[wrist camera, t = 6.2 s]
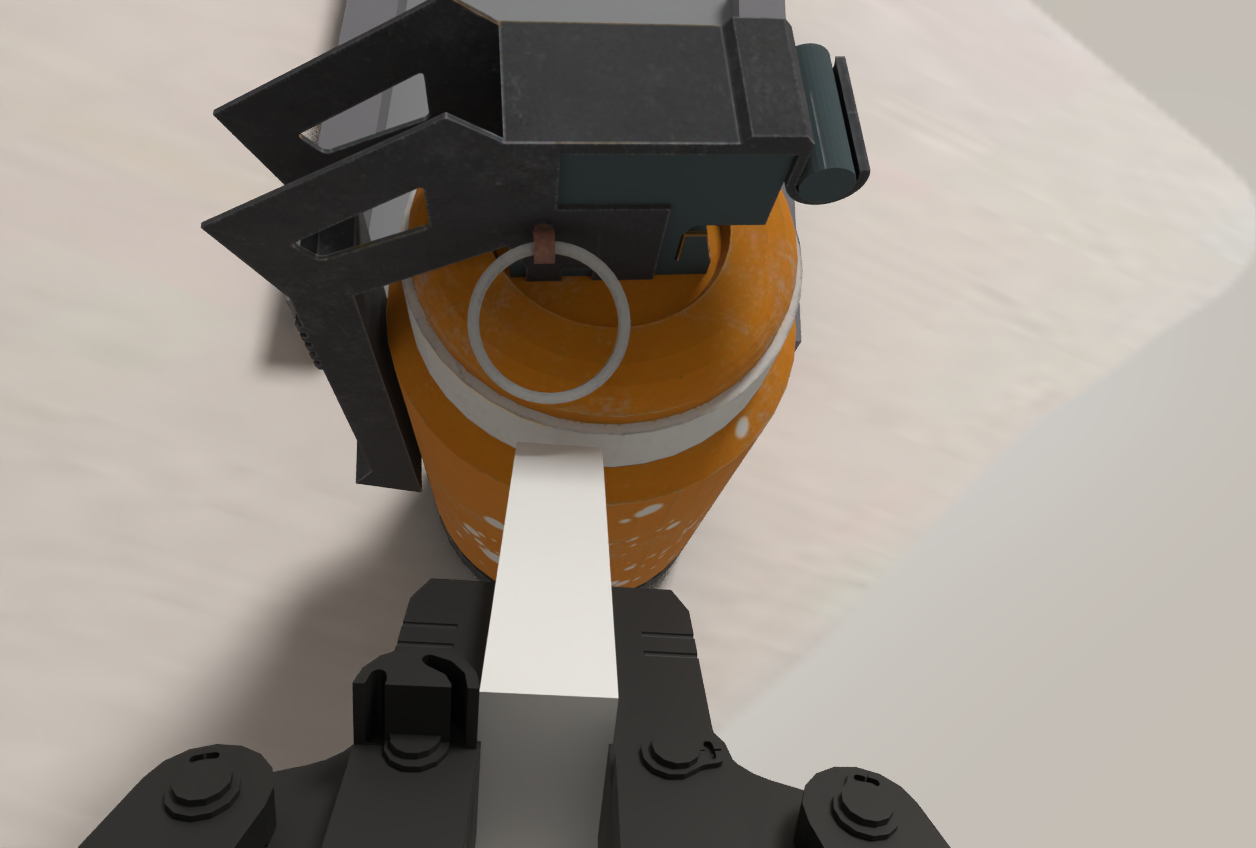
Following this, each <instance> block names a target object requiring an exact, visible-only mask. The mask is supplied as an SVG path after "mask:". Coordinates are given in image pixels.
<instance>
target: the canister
mask: <svg viewBox="0 0 1256 848" xmlns="http://www.w3.org/2000/svg"><path fill="white" fill-rule="evenodd" d="M419 73H422V74H423V75H424V81H425V88H426V96H427V103H428V110H429V113H428V114H427V115H426V116H424V117H421V118H418V119H415V120H412V121H409V122H407V123H404V124H401V125H398V126H395V127H392V128H389V129H386V130H383V131H380V132H377V133H375V134H372V135H369V136H366V137H363V138H360V139H357V140H354V141H352V142H349V143H346V144H343V145H340V146H337V147H334V148H332V149H324V148H321V147H320V146H318V145H317V144H315V143H314V142H312V141H311V140H309V139H308V138H306V137H305V136H303V135H302V134H301V133H302V132H304V131H306V130H308V129H310V128H312V127H314V126H316V125H318V124H320V123H322V122H324V121H326V120H328V119H330V118H332V117H334V116H336V115H338V114H340V113H342V112H344V111H346V110H348V109H350V108H352V107H354V106H356V105H358V104H360V103H362V102H364V101H366V100H368V99H370V98H372V97H373V96H375V95H377V94H379V93H381V92H383V91H385V90H387V89H389V88H391V87H393V86H395V85H397V84H399V83H401V82H403V81H405V80H407V79H409V78H411V77H413V76H415V75H417V74H419ZM213 115H214V116H215V117H216V118H217V119H218V120H219V121H220V122H221V123H222V124H223V125H224V126H225V127H226V128H227V129H228V130H229V131H230V132H231V133H232V134H233V135H234V136H235V137H236V138H237V139H238V140H239V141H240V142H241V143H242V144H243V145H244V146H245V147H246V148H247V149H249V150H250V151H251V152H252V153H253V154H254V155H255V156H256V157H257V158H258V159H259V160H260V161H261V162H262V163H263V164H264V165H265V166H266V167H267V168H268V169H269V170H270V171H271V172H272V173H273V174H274V175H275V176H276V177H277V178H278V179H279V180H280V181H281V182H282V183H283V184H284V186H282V187H280V188H277V189H275V190H273V191H271V192H268V193H266V194H264V195H262V196H260V197H257V198H255V199H253V200H251V201H248V202H246V203H244V204H242V205H240V206H237V207H235V208H233V209H231V210H228V211H226V212H224V213H222V214H220V215H217V216H215V217H213V218H211V219H208V220H206V221H204V222H202V223H201V228H202V229H203V230H204V231H206V232H207V233H208V234H209V235H211V236H212V237H213V238H214V239H216V240H217V241H218V242H219V243H221V244H222V245H223V246H225V247H226V248H227V249H228V250H230V251H231V252H232V253H233V254H235V255H236V256H237V257H238V258H240V259H241V260H242V261H243V262H245V263H246V264H247V265H249V266H250V267H251V268H252V269H254V270H255V271H256V272H257V273H259V274H260V275H261V276H262V277H264V278H265V279H266V280H267V281H269V282H270V283H271V284H272V285H274V286H275V287H276V288H278V289H279V290H280V291H281V292H283V293H284V294H285V295H286V296H288V297H289V299H290V302H291V304H292V306H293V308H294V310H295V312H296V323H295V325H296V327H297V329H298V331H300V335H301V337H302V340H303V341H305V346H306V348H307V349H308V350H309V351H310V356H311V358H312V359H313V360H314V364H315V366H316V367H317V368H318V369H323V370H324V372H325V375H326V377H327V379H328V381H329V383H330V385H331V387H332V389H333V391H334V393H335V395H336V398H337V400H338V402H339V404H340V406H341V408H342V410H343V412H344V414H345V416H346V418H347V420H348V423H349V425H350V427H351V429H352V431H353V433H354V435H355V437H356V439H357V465H356V483H357V484H364V485H371V486H379V487H386V488H393V489H400V490H408V491H415V492H422V459H423V463H424V466H425V469H426V472H427V476H428V479H429V482H430V485H431V489H432V492H433V495H434V499H435V502H436V505H437V508H438V512H439V514H440V518H441V521H442V525H443V527H444V530H445V532H446V534H447V536H448V538H449V541H450V543H451V545H452V547H453V548H454V550H455V551H456V553H457V554H458V556H459V557H460V559H461V560H462V561H463V563H464V564H465V565H466V566H467V567H468V568H469V569H470V570H471V571H472V572H473V573H474V575H475V576H476V577H477V578H478V579H480V580H481V581H482V582H496V578H497V571H498V565H499V558H500V551H501V545H502V538H503V531H504V525H505V518H506V511H507V505H508V498H509V491H510V485H511V478H512V471H513V465H514V458H515V451H516V444H517V442H527V443H541V444H555V445H569V446H582V447H596V448H602V452H603V467H604V482H605V498H606V513H607V528H608V544H609V559H610V575H611V587H628V588H645V589H646V588H647V587H648V586H650V585H651V584H653V583H654V582H655V581H657V580H658V579H659V578H660V577H661V576H662V575H663V574H664V573H665V572H666V571H667V570H668V569H669V568H670V566H671V565H672V564H673V562H674V561H675V559H676V558H677V557H678V555H679V554H680V552H681V551H682V550H683V548H684V547H685V545H686V544H687V542H688V540H689V539H690V538H691V536H692V535H693V533H694V532H695V530H696V529H697V527H698V526H699V524H700V523H701V521H702V520H703V518H704V517H705V515H706V514H707V512H708V511H709V509H710V508H711V507H712V505H713V504H714V502H715V501H716V499H717V498H718V496H719V495H720V493H721V492H722V490H723V489H724V487H725V486H726V484H727V483H728V481H729V480H730V478H731V477H732V475H733V474H734V472H735V471H736V469H737V468H738V466H739V465H740V463H741V462H742V460H743V459H744V457H745V456H746V454H747V453H748V451H749V450H750V449H751V447H752V446H753V444H754V443H755V441H756V440H757V438H758V437H759V435H760V434H761V432H762V431H763V429H764V428H765V426H766V425H767V423H768V422H769V420H770V419H771V417H772V416H773V414H774V412H775V410H776V408H777V406H778V404H779V402H780V400H781V398H782V396H783V394H784V391H785V389H786V387H787V383H788V380H789V376H790V372H791V369H792V365H793V361H794V352H795V340H796V324H795V315H796V312H797V308H798V304H799V301H800V295H801V284H802V272H803V270H802V260H801V249H800V242H799V239H798V235H797V231H796V228H795V224H794V220H793V218H792V215H791V213H790V209H789V206H788V203H787V201H786V198H785V196H784V194H783V192H782V190H781V187H782V185H783V183H784V184H785V189H786V192H787V194H788V195H789V197H791V198H792V199H793V200H795V201H797V202H800V203H803V204H810V205H820V204H827V203H831V202H835V201H838V200H841V199H844V198H846V197H848V196H850V195H852V194H853V193H855V192H856V191H858V190H859V189H860V188H861V187H862V186H863V185H864V184H865V182H866V181H867V179H868V177H869V175H870V166H869V162H868V157H867V153H866V148H865V144H864V140H863V135H862V131H861V126H860V122H859V117H858V113H857V108H856V104H855V99H854V95H853V90H852V86H851V81H850V77H849V73H848V68H847V64H846V59H845V56H838V57H835V64H834V67H833V68H832V64H831V59H830V55H829V52H828V50H827V49H826V48H825V47H823V46H821V45H818V44H812V43H809V44H802V45H798V46H795V42H794V37H793V31H792V27H791V25H790V24H789V23H788V21H787V20H786V19H785V18H773V17H731V18H730V19H729V20H728V21H726V22H725V23H724V24H722V25H690V24H643V23H596V22H548V21H501V20H497V19H495V18H493V17H491V16H489V15H488V14H486V13H484V12H482V11H480V10H479V9H477V8H475V7H473V6H471V5H469V4H468V3H466V2H464V1H462V0H426V1H424V2H422V3H421V4H419V5H417V6H415V7H413V8H411V9H409V10H407V11H405V12H404V13H402V14H400V15H398V16H396V17H394V18H392V19H390V20H388V21H386V22H384V23H382V24H380V25H378V26H376V27H374V28H372V29H370V30H369V31H367V32H365V33H363V34H361V35H359V36H357V37H355V38H353V39H351V40H349V41H347V42H345V43H343V44H341V45H339V46H337V47H335V48H333V49H332V50H330V51H328V52H326V53H324V54H322V55H320V56H318V57H316V58H314V59H312V60H310V61H308V62H306V63H304V64H302V65H300V66H298V67H296V68H295V69H293V70H291V71H289V72H287V73H285V74H283V75H281V76H279V77H277V78H275V79H273V80H271V81H269V82H267V83H265V84H263V85H261V86H260V87H258V88H256V89H254V90H252V91H250V92H248V93H246V94H244V95H242V96H240V97H238V98H236V99H234V100H232V101H230V102H228V103H226V104H224V105H223V106H221V107H219V108H217V109H215V110H214V111H213ZM411 191H412V192H411ZM408 192H411V194H410V196H409V199H408V202H407V206H406V209H405V212H404V216H403V219H402V223H401V232H399V233H396V234H393V235H389V236H386V237H383V238H380V239H376V240H373V241H371V238H370V235H369V231H368V227H367V224H366V220H365V217H364V213H363V212H365V211H368V210H370V209H372V208H374V207H377V206H379V205H381V204H383V203H386V202H388V201H390V200H393V199H395V198H397V197H399V196H402V195H404V194H406V193H408ZM299 240H300V245H298V244H296V243H295V242H297V241H299ZM386 285H389V288H388V298H387V296H386V292H385V289H384V286H386Z"/></svg>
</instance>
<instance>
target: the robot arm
mask: <svg viewBox="0 0 1256 848" xmlns="http://www.w3.org/2000/svg"><path fill="white" fill-rule="evenodd" d="M693 635H694V634H693V629H692V624H691V619H690V614H689V611H688V609H687V608H686V607H685V606H684V605H683V604H682V602H681V601H680V600H679V599H678V598H677V596H676V595H675V594H674V593H673V592H672V591H671V590H662V589H645V588H628V587H611V575H610V559H609V544H608V528H607V513H606V498H605V482H604V467H603V452H602V448H596V447H582V446H569V445H555V444H541V443H527V442H517V444H516V451H515V458H514V465H513V471H512V478H511V485H510V491H509V498H508V505H507V511H506V518H505V525H504V531H503V538H502V545H501V551H500V558H499V565H498V571H497V578H496V582H482V581H465V580H448V579H430V580H429V581H428V582H427V583H426V584H425V585H424V586H423V587H422V588H420V589H419V590H418V591H417V592H416V593H415V594H414V595H413V596H412V597H411V598H410V601H409V604H408V608H407V611H406V614H405V618H404V621H403V626H402V628H401V631H400V634H399V638H398V643H397V646H396V648H395V651H394V652H391V653H388V654H384V655H381V656H379V657H378V658H376V659H375V660H373V661H372V662H370V663H369V664H367V665H366V666H364V667H363V668H362V670H361V671H360V673H359V674H358V676H357V677H356V679H355V680H354V682H353V731H354V744H353V745H352V746H351V747H349V748H348V749H347V750H345V751H344V752H342V753H339V754H337V755H335V756H333V757H331V758H329V759H327V760H324V761H320V762H317V763H313V764H310V765H306V766H301V767H296V768H291V769H286V770H281V771H276V772H273V770H272V767H271V766H270V765H269V763H268V762H267V761H266V760H265V759H264V757H263V756H262V755H261V754H259V753H257V752H255V751H252V750H250V749H248V748H245V747H243V746H236V745H221V744H215V745H210V746H205V747H200V748H194V749H190V750H188V751H185V752H183V753H181V754H179V755H176V756H174V757H172V758H170V759H167V760H165V761H164V762H162V763H161V764H160V765H159V766H157V767H156V768H155V769H153V770H152V771H151V772H150V773H148V774H147V775H146V776H145V777H143V778H142V780H141V781H140V782H139V783H138V784H137V785H136V786H135V787H134V788H133V789H132V790H131V791H130V792H129V793H128V794H127V796H126V797H125V798H124V799H123V800H122V801H121V802H120V803H119V804H118V805H117V806H116V807H115V808H114V809H113V810H112V812H111V813H110V814H109V815H108V816H107V817H106V818H105V819H104V820H103V821H102V822H101V823H100V824H99V825H98V827H97V828H96V829H95V830H94V831H93V832H92V833H91V834H90V835H89V836H88V837H87V838H86V839H85V840H84V841H83V843H82V844H81V845H80V846H79V847H78V848H950V846H949V845H948V844H947V842H946V841H945V840H944V838H943V837H942V836H941V834H940V833H939V832H938V830H937V829H936V827H935V826H934V825H933V824H932V822H931V821H930V820H929V818H928V817H927V815H926V814H925V813H924V811H923V810H922V809H921V807H920V806H919V805H918V803H917V802H916V801H915V800H914V799H913V798H912V797H911V796H910V795H909V794H908V793H907V792H906V791H905V790H904V789H903V788H902V787H901V786H899V785H897V784H896V783H894V782H892V781H891V780H889V779H887V778H885V777H884V776H882V775H880V774H878V773H874V772H871V771H867V770H864V769H861V768H857V767H833V768H830V769H827V770H824V771H822V772H819V773H816V774H815V775H814V777H813V778H812V779H811V780H810V781H809V782H808V783H807V784H806V785H805V789H804V790H801V789H798V788H794V787H791V786H787V785H784V784H781V783H778V782H774V781H771V780H768V779H766V778H763V777H761V776H758V775H755V774H753V773H751V772H750V771H748V770H746V769H745V768H743V767H741V766H740V765H738V764H737V763H736V762H734V760H733V759H732V757H731V755H730V753H729V751H728V749H727V747H726V745H725V743H724V742H723V741H722V740H721V739H720V738H719V737H718V736H717V735H716V734H715V733H714V732H713V729H712V725H711V719H710V714H709V709H708V704H707V699H706V694H705V689H704V684H703V679H702V674H701V669H700V664H699V659H698V658H697V649H696V644H695V639H693Z"/></svg>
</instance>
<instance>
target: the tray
mask: <svg viewBox="0 0 1256 848" xmlns="http://www.w3.org/2000/svg"><path fill="white" fill-rule="evenodd" d="M424 1H426V0H347V1H346V6H345V11H344V16H343V21H342V26H341V31H340V36H339V41H338V46H339V45H341V44H343V43H345V42H347V41H349V40H351V39H353V38H355V37H357V36H359V35H361V34H363V33H365V32H367V31H369V30H370V29H372V28H374V27H376V26H378V25H380V24H382V23H384V22H386V21H388V20H390V19H392V18H394V17H396V16H398V15H400V14H402V13H404V12H405V11H407V10H409V9H411V8H413V7H415V6H417V5H419V4H421V3H422V2H424ZM462 1H464V2H466V3H468V4H469V5H471V6H473V7H475V8H477V9H479V10H480V11H482V12H484V13H486V14H488V15H489V16H491V17H493V18H495V19H497V20H501V21H548V22H596V23H643V24H690V25H722V24H724V23H725V22H726V21H728V20H729V19H730V18H731V17H773V18H785V19H786V15H785V0H462ZM428 113H429V110H428V103H427V96H426V88H425V81H424V75H423V74H422V73H419V74H417V75H415V76H413V77H411V78H409V79H407V80H405V81H403V82H401V83H399V84H397V85H395V86H393V87H391V88H389V89H387V90H385V91H383V92H381V93H379V94H377V95H375V96H373V97H372V98H370V99H368V100H366V101H364V102H362V103H360V104H358V105H356V106H354V107H352V108H350V109H348V110H346V111H344V112H342V113H340V114H338V115H336V116H334V117H332V118H330V119H328V120H326V121H324V122H322V125H321V130H320V135H319V140H318V146H320V147H321V148H324V149H332V148H334V147H337V146H340V145H343V144H346V143H349V142H352V141H354V140H357V139H360V138H363V137H366V136H369V135H372V134H375V133H377V132H380V131H383V130H386V129H389V128H392V127H395V126H398V125H401V124H404V123H407V122H409V121H412V120H415V119H418V118H421V117H424V116H426V115H427V114H428ZM781 190H782V192H783V194H784V196H785V198H786V201H787V203H788V206H789V209H790V213H791V215H792V218H793V220H794V224H795V228H796V222H795V202H794V200H793V199H792V198H791V197H789V195H788V194H787V192H786V189H785V184H784V183H783V185H782V187H781ZM411 192H412V191H411ZM411 192H408V193H406V194H404V195H402V196H399V197H397V198H395V199H393V200H390V201H388V202H386V203H383V204H381V205H379V206H377V207H374V208H372V209H370V210H368V211H365V212H363V213H364V217H365V220H366V224H367V227H368V231H369V235H370V238H371V241H373V240H376V239H380V238H383V237H386V236H389V235H393V234H396V233H399V232H401V223H402V219H403V216H404V212H405V209H406V206H407V202H408V199H409V196H410V194H411ZM298 245H300V240H299V241H298ZM388 288H389V285H386V286H384V289H385V292H386V296H387V298H388ZM286 301H287V303H288V305H289V307H290V309H291V311H292V313H293V315H294V317H295V319H296V312H295V310H294V308H293V306H292V304H291V302H290V299H289V297H288V296H287V299H286ZM795 324H796V340H795V351H796V349H797V347H798V346H799V344H800V343H801V326H800V305H799V304H798V308H797V312H796V315H795Z"/></svg>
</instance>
